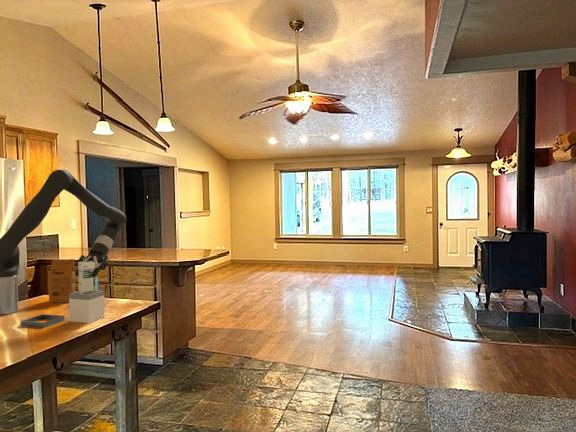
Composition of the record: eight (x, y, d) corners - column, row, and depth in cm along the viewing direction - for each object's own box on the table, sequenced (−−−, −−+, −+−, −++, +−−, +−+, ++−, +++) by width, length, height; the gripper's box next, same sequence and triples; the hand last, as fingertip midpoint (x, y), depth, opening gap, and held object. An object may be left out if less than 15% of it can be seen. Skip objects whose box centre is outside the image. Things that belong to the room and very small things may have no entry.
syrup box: (81, 296, 185) (81, 263, 184) (78, 293, 189) (78, 261, 189) (95, 294, 188) (95, 261, 188) (92, 292, 193) (91, 260, 192)
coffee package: (53, 299, 227) (52, 258, 226) (78, 298, 229) (77, 257, 228) (45, 303, 217) (45, 260, 216) (71, 302, 219) (71, 260, 218)
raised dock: (69, 321, 185) (69, 294, 185) (85, 315, 195) (85, 289, 195) (89, 323, 183) (88, 295, 183) (104, 316, 193) (104, 290, 192)
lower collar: (20, 325, 178) (20, 321, 178) (42, 318, 190) (42, 314, 189) (43, 327, 176) (43, 323, 176) (64, 320, 187) (64, 315, 187)
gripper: (84, 241, 197) (66, 270, 186) (111, 242, 193) (94, 271, 183) (92, 251, 202) (75, 279, 191) (118, 252, 199) (102, 281, 188)
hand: (84, 275), depth 187 cm, fingers closed on syrup box, 8 cm apart
